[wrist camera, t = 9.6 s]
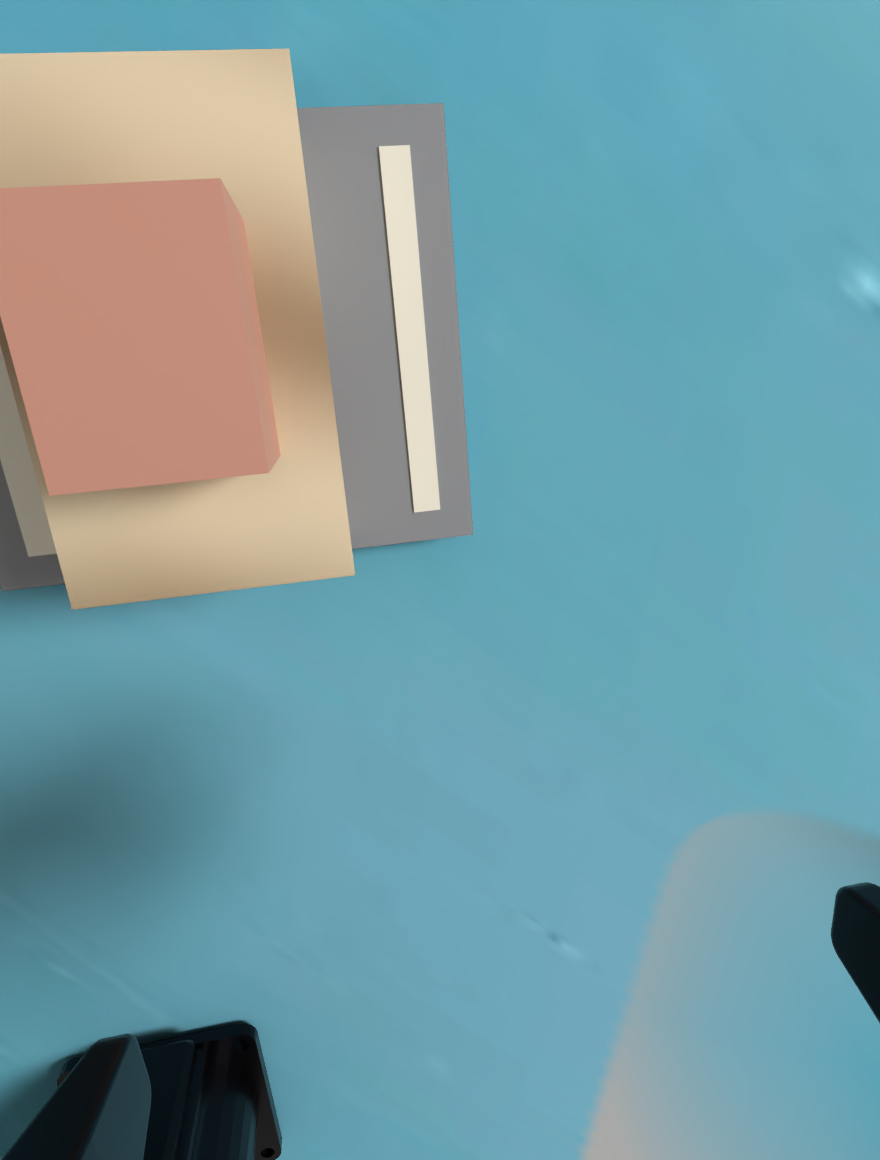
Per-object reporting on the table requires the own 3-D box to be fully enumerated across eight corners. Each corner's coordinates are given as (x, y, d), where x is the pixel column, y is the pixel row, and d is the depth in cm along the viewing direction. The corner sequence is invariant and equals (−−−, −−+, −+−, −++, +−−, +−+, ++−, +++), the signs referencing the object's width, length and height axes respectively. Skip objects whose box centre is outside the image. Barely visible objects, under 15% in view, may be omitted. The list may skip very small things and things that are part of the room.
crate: (280, 454, 12) (268, 473, 10) (104, 472, 12) (49, 495, 10) (244, 220, 11) (220, 178, 9) (46, 231, 11) (-34, 190, 8)
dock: (464, 525, 19) (473, 535, 18) (24, 577, 17) (1, 592, 16) (435, 123, 16) (444, 102, 14) (-105, 143, 14) (-145, 122, 13)
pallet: (349, 531, 17) (354, 575, 13) (132, 556, 16) (72, 609, 13) (300, 136, 14) (289, 48, 10) (35, 145, 14) (-79, 56, 10)
